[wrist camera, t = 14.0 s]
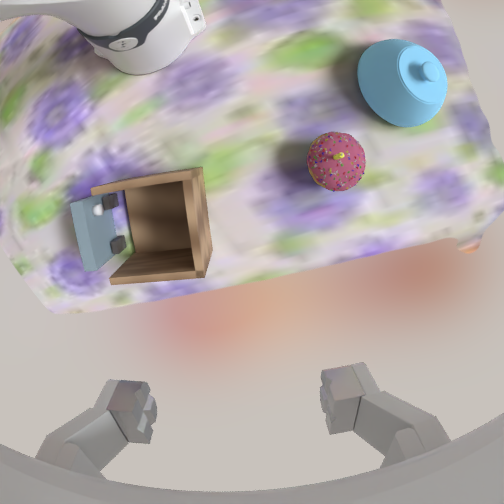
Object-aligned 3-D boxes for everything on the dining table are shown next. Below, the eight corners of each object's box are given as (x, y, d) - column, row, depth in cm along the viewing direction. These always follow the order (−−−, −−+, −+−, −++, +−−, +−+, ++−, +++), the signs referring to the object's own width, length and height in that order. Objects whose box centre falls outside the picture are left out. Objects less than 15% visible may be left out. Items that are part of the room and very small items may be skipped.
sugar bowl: (335, 82, 39) (363, 62, 28) (382, 30, 35) (414, 6, 24) (401, 145, 42) (441, 146, 31) (440, 91, 39) (481, 83, 28)
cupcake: (291, 172, 43) (309, 178, 32) (314, 123, 41) (340, 113, 30) (339, 196, 45) (370, 211, 33) (362, 149, 42) (399, 150, 31)
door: (125, 249, 46) (104, 269, 38) (108, 251, 46) (84, 271, 38) (115, 190, 43) (89, 199, 35) (97, 193, 43) (69, 203, 34)
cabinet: (88, 186, 42) (51, 197, 32) (202, 167, 43) (189, 170, 32) (103, 260, 47) (73, 287, 36) (212, 249, 47) (204, 277, 36)
